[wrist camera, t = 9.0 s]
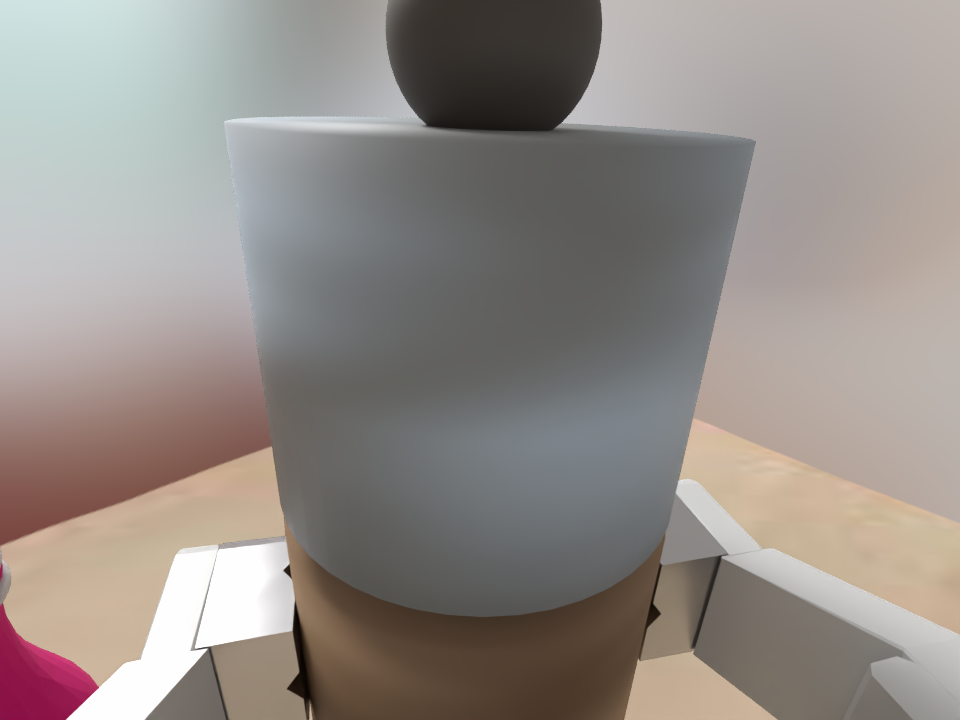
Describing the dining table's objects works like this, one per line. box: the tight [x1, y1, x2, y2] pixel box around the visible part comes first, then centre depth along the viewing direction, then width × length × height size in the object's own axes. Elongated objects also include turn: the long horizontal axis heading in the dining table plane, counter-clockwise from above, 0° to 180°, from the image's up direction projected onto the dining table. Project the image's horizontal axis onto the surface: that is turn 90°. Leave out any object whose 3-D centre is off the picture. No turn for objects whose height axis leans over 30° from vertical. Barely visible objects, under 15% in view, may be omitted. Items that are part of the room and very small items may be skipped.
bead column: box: [224, 0, 756, 720], centre depth 8 cm, size 4×4×17 cm
